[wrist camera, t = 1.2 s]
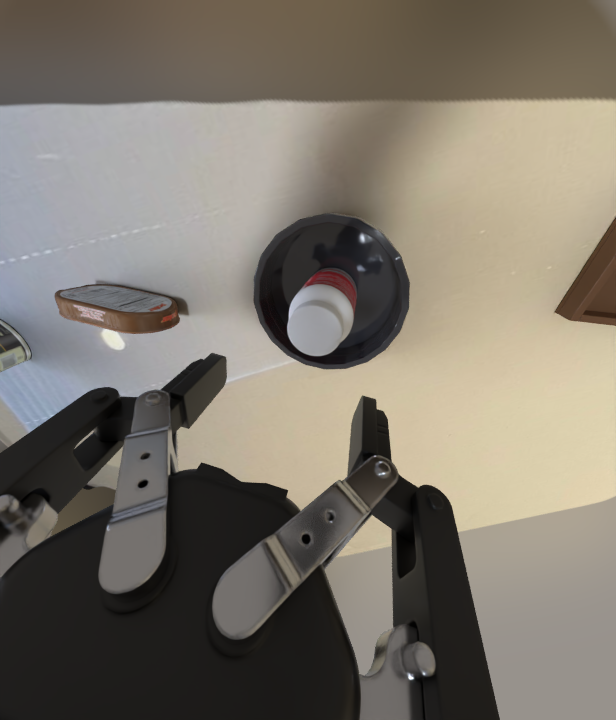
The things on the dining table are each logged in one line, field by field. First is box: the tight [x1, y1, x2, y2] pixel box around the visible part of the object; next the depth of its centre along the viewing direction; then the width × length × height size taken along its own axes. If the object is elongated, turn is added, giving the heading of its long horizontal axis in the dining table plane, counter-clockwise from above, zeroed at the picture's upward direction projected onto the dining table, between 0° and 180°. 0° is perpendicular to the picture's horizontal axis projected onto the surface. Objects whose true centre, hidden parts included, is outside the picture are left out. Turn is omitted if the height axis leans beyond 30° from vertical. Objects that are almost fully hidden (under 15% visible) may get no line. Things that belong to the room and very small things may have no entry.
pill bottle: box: [287, 268, 357, 356], centre depth 24 cm, size 6×6×11 cm
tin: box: [55, 284, 180, 334], centre depth 32 cm, size 15×3×8 cm, turn 82°
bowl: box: [254, 213, 410, 369], centre depth 27 cm, size 16×16×4 cm
